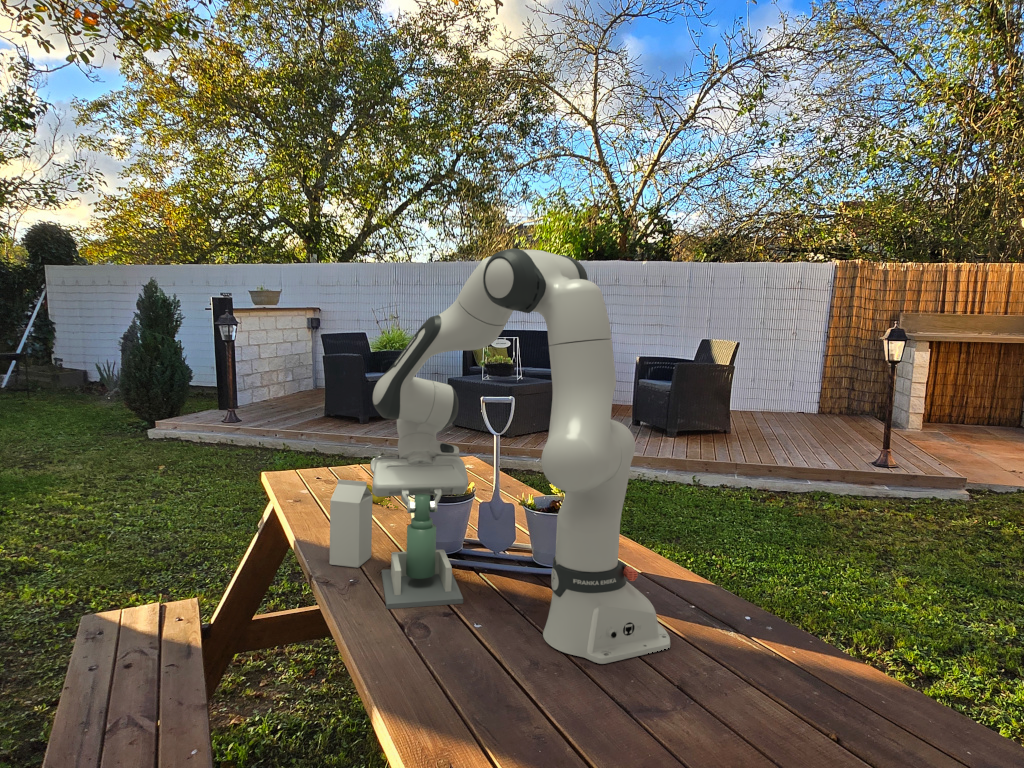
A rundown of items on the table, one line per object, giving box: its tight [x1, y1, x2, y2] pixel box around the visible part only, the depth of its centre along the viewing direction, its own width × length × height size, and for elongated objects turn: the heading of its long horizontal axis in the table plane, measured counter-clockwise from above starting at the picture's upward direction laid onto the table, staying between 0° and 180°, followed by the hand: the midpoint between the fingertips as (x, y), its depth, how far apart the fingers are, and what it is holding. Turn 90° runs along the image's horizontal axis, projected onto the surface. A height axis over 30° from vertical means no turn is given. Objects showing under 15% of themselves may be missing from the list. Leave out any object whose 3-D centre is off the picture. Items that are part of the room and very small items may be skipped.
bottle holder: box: [381, 549, 464, 610], centre depth 134 cm, size 15×18×6 cm
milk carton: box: [329, 478, 373, 568], centre depth 147 cm, size 7×7×19 cm
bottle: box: [406, 494, 437, 579], centre depth 133 cm, size 6×6×16 cm
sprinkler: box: [367, 484, 399, 509], centre depth 196 cm, size 19×4×15 cm
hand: (422, 511), depth 132 cm, fingers closed on bottle, 3 cm apart
